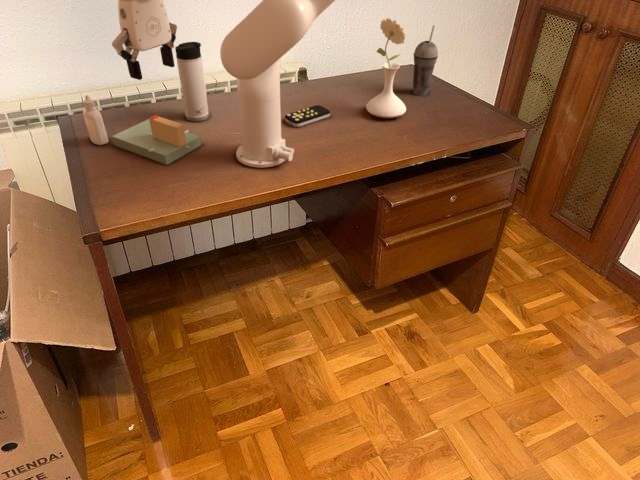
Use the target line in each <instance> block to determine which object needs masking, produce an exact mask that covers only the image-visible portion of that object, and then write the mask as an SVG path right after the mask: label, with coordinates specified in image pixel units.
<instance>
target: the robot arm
mask: <svg viewBox="0 0 640 480" xmlns="http://www.w3.org/2000/svg"><path fill="white" fill-rule="evenodd" d="M335 1H336V0H262V1H261V2H260V3H258V4H257V5H256V6H255V7H254V8H253V10H251V11H250V12H249V13H248V14H247V15H246V16H245V17H244V18H243V19H242V20H241V21H240V22H239V23H238V24H236V26H234V28H233V29H232V30H231V31H229V32H228V33H227V34H226V36H225V37H224V38H223V40H222V42H221V45H220V51H219V54H220V55H219V57H220V61H221V64H222V66H223V68H224V70H225V71H226V72H227V73H228V74H229V75H230V76H231V77H233V78H235V79H236V89H237V90H236V91H237V103H238V114H239V116H238V117H239V128H240V138H241V139H240V140H241V145H239V146H238V148H237V149H236V152H235V156H236V159H237V161H238V162H239V163H241V164H242V165H244V166H247V167H249V168H250V167H251V168H256V169H257V168H258V169H259V168H260V169H263V168H271V167H276V166H279V165H281V164H282V163H284V162H285V161H287V162H291V161H293V159H294V153H295V149H294V148H292V147H289V146H287V145H286V139H285V138H282V115H281V114H282V112H281V111H282V110H281V59H282V57H284V55H286V54H287V53H288V52H290V50H292V49H293V48H294V47H295V46H296V45H297V44H298V43H299V42H300V41H301V40H302V39H303V38H304V36H305V35H306V34H307V33H308V31H309V29H310V28H311V26H312V25H313V23H314V21H315V20H316V19H317V18H318V17H319V16H320V15H321V14H322V13H323V12H324V11H326V9H328V8H329V7H330V6H331V5H332V4H333V3H334V2H335ZM117 14H118V15H117V16H118V22H119V29H120V33H119V34H118V35H117V36H115V38H114V40H113V41H112V42H111V47H113V49H114V50H115V52H116V53H117V55H118V56H120V57H121V58H122V59H123V60H124V61H126V66H127V69H128V74H129V77H130V78H131V79H134V80H138V81H141V80H143V73H142V69H141V65H140V62H139V61H140V60H137V59H138V56H139V53H140V52H146V51H149V50H151V49H152V50H153V49H156V48H158V47H159V48H160V49H159V50H160V56H161V62H162V65H163V66H165V67H169V68H174V67H175V60H174V53H173V49H175V45H174V43H175V41H176V38H177V36H176V34H177V30H178V25H177V24H174V23H173V22H170V20H169V17H168V13H167V10H166V6H165V3H164V0H117Z"/></svg>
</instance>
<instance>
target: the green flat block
mask: <svg viewBox="0 0 640 480" xmlns="http://www.w3.org/2000/svg"><path fill="white" fill-rule="evenodd" d="M184 132H185V138H186V144H185V145H183V146H181V147H178V146H176V145H173V144H170V143H167V142H164V141H161V140H158V139H156V138H153V135H152V131H151V126H150V121H149V118H148V119H146V120H143V121H141V122H139V123H137V124H135V125H133V126H131V127H128V128H127V129H124V130H122V131H120V132H118V133H116V134H114V135H111V138H112V142H113V144H114V146H115V147H118V148H119V149H123V150H126V151H129V152H131V153H134V154H137V155H139V156H142V157H145V158H147V159H150V160H152V161H155V162H158V163H160V164H164V165H166V166H168V165H170V164H171V163H173V162H174V161H177V160H179V159H180V158H182V157H183V156H185V155H187V154H189V153H191V152H192V151H194V150H195V149H198V148H199V147H201V146H202V137H201V135H197V134H195V133H192V132H190V129H187V130H184Z"/></svg>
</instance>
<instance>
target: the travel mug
mask: <svg viewBox="0 0 640 480" xmlns="http://www.w3.org/2000/svg"><path fill="white" fill-rule="evenodd" d="M201 47H202V44H201V42H198V41H187V42H183V43H179V44H178V45H177V46H174V49H175V55H176V56H175V57H176V64H177V69H178V76H179V83H180V89H181V94H182V100H183V101H182V102H183V108H184V114H185V118H186V120H188V121H189V122H195V123H196V122H197V123H199V122H203V121H206V120H207V119H208V118H209V116H210V113H209V105H208V97H207V90H206V83H205V75H204V66H203V59H202V54H201Z"/></svg>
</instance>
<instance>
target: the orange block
mask: <svg viewBox="0 0 640 480" xmlns="http://www.w3.org/2000/svg"><path fill="white" fill-rule="evenodd" d="M148 119H149V121H150V126H151V131H152V135H153V138H156V139H158V140H161V141H164V142H167V143H170V144H173V145H176V146H178V147H181V146H183V145H185V144H186V138H185V132H184V131H185V127H184V126H185V125H184V124H183V123H180V122H177V121H174V120H172V119H168V118H165V117H161V116H159V115H157V114H155V115H153V116H150V117H149V118H148Z"/></svg>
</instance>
